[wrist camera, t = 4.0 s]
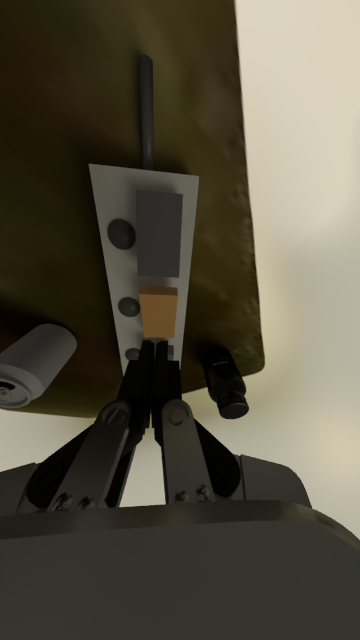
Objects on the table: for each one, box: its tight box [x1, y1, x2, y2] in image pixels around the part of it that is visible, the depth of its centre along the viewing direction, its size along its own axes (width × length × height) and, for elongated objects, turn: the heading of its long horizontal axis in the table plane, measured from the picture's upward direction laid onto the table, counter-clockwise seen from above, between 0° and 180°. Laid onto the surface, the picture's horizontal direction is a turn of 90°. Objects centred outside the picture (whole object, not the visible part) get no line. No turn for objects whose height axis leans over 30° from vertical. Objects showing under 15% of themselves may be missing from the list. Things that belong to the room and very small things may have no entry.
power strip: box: [89, 55, 199, 375], centre depth 23 cm, size 39×11×5 cm, turn 176°
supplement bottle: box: [202, 348, 249, 419], centre depth 30 cm, size 7×7×12 cm
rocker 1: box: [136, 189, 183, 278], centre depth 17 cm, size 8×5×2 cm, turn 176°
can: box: [0, 324, 77, 408], centre depth 25 cm, size 8×8×12 cm
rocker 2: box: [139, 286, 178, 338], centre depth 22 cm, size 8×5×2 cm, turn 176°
